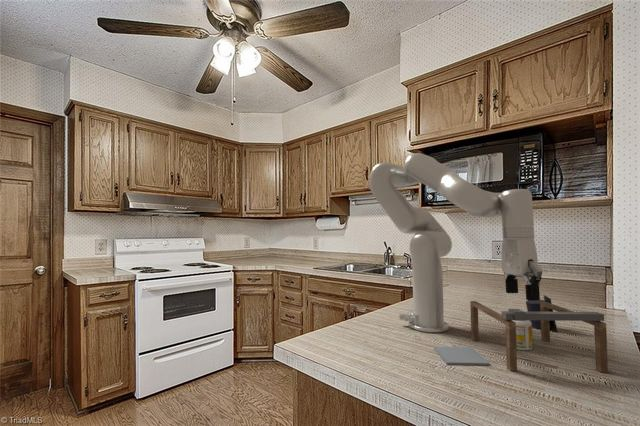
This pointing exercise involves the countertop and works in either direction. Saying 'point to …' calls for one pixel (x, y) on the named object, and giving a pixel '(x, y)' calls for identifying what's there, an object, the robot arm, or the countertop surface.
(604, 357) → the frame
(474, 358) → the slate mat
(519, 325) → the supplement bottle
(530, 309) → the speaker
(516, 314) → the tie bar
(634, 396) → the countertop surface
